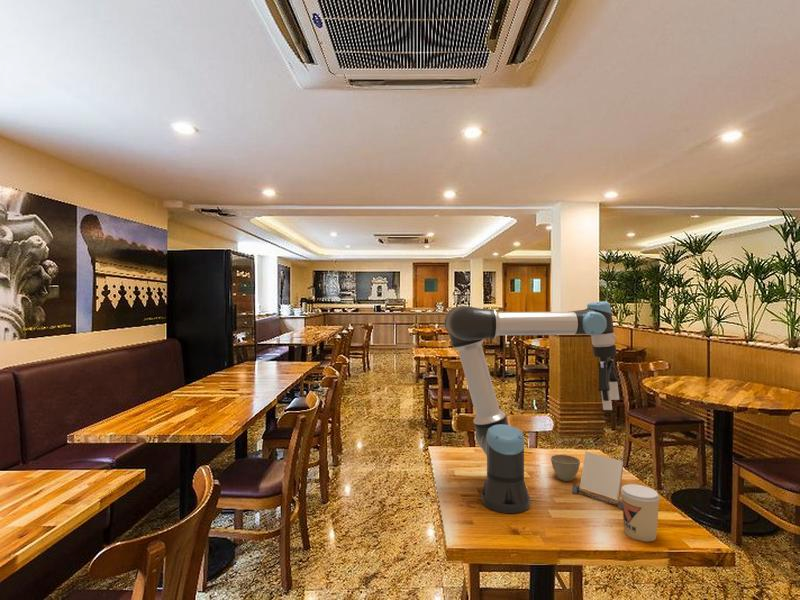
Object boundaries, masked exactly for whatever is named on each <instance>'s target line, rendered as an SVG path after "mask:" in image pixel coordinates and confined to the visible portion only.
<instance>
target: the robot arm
mask: <svg viewBox="0 0 800 600" xmlns="http://www.w3.org/2000/svg"><path fill="white" fill-rule="evenodd" d="M444 328H445V331H446V333H448V337H449V340H450V344H451V347H452V348H453V349H454V350H455V351H457V352H458V357H459V359H460V363H461V366H462V371H463V374H464V378H465V381H466V385H467V388H468V391H469V394H470V395H469V396H470V399H471V402H472V405H473V409H474V413H475V417H474V418H473V420H472V421H473V425H474V429H475V439H476V442H477V443H478V445H479V447H480V448H481V449H482V451H483V452H484V454H485V455H486V478H485V482H484V484H483V487H482V491H481V502H482V503H481V504H482V505H484V506H485V507H486V508H488V509H490V510H492V511H495V512H498V513H504V514H518V513H519V514H520V513H524V512H526V511H528V509H529V508H531V507H530V506H531V505H530V504H531V497H530V494H529V493H528V492H529V491H528V488H527V485H526V482H525V438H524V434H523V432H522V431H521V430H520V429H519V428H517V427H515V426H512V425H509V421H508V419H507V414H506V413H505V411H502V410H501V409H500V405H499V403H498V399H497V395H496V391H495V388H494V385H493V381H492V378H491V373H490V369H489V366H488V362H487V359H486V356H485V353H484V352H485V351H484V348H483V343H484V341H485V340H487V339H488V340H489V339H490V340H493V339H496V338H497V337H499V336H562V335H563V336H564V335H565V336H566V335H568V336H569V335H570V336H571V335H574V336H575V335H577V336H581V335H582V336H583V335H587V336H590V338H591V344H592V345H593V346H592V352H593V356H594V357H595V358H600V361H597V365H598V388H597V391H598V392H600V393H601V394H600V395H601V401H602V409H603V411H612V410H613V405H612V400H613V401H620V392H619V383H618V382H620V378H619V376H618V372H617V367H616V364H615V360H614V357H615V356H617V355H618V353H617V352H618V351H617V345H616V338H617V335H616V334H615V330H614V322H613V313H612V306H611V304H610V301H609V302H608V301H594V302H593V301H592V302H588V303H587V307H586V308H585V309H580V310H579V309H578V310H571V311H497V310H495V309H494V308H479V307H473V306H467V305H458V306H457V305H456V306H454V307H453V308H451V309H450V310H449V311H448V313H447V314H446V316H445V318H444Z"/></svg>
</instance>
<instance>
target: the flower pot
mask: <svg viewBox="0 0 800 600" xmlns="http://www.w3.org/2000/svg"><path fill="white" fill-rule="evenodd" d="M550 461H551V465H552V468H553V470H554V474H555V475H556V477H557V479H559V480H561V481H564V482H571V481H573V480H574V478H575V477H576V476H577V473H578V471H579V468H580V464H581V460H580V459H579V458H577V457H575V456H572V455H569V454H568V455H567V454H553V455H552V456H551V457H550Z"/></svg>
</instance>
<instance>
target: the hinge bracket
mask: <svg viewBox="0 0 800 600" xmlns="http://www.w3.org/2000/svg"><path fill="white" fill-rule="evenodd" d="M571 493H572V494H573V495H578V494H583V495H585V496H589V497H591V498H594V499H598V500H599V501H603V502H606V503H609V504H613V505H615V506H617V508H618V510H622V511H623V505H622V498H619V500H617V502H616V501H614V500H609V499H607V498H604V497H602V496H598V495H595V494H591V493H589V492H586V491H582V490H581V488H580V484H573V485H572V486H571Z"/></svg>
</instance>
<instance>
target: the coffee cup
mask: <svg viewBox="0 0 800 600" xmlns="http://www.w3.org/2000/svg"><path fill="white" fill-rule="evenodd" d="M620 494H621V499H622V505H623V510H622V516H623V517H622V518H623V527H624V532H625V534H626V535H627V536H629V538H632V539H634V540H637V541H641V542H652V541H653V542H654V541H656V539H657V531H658V523H659V522H658V520H659V519H658V517H659V506H660V505H659V504H660V503H659V501H660V495H659V493H658V491H656V490H655V488H651V487H649V486H645V485H643V484H625V485H623V486H622V487H621V488H620Z"/></svg>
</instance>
